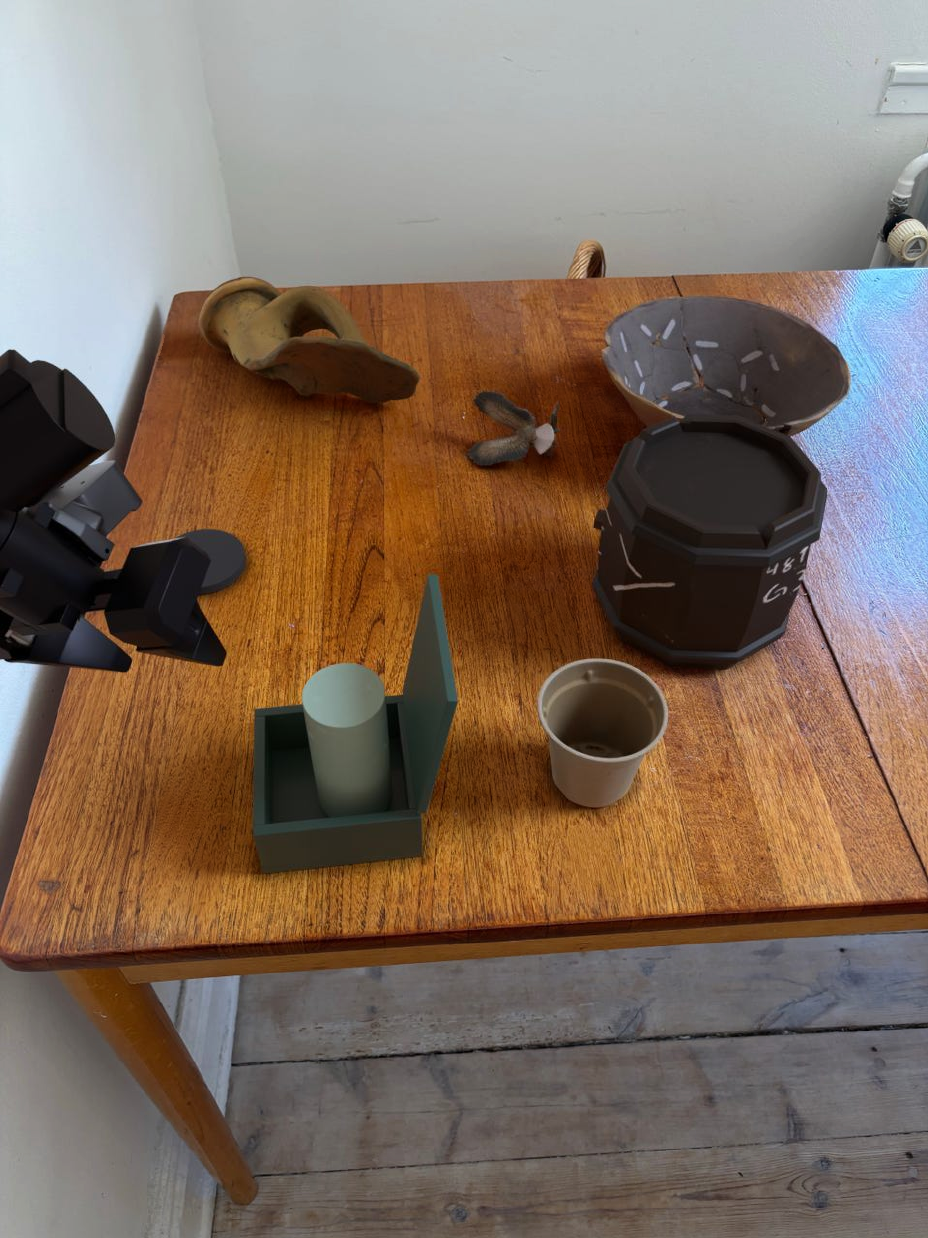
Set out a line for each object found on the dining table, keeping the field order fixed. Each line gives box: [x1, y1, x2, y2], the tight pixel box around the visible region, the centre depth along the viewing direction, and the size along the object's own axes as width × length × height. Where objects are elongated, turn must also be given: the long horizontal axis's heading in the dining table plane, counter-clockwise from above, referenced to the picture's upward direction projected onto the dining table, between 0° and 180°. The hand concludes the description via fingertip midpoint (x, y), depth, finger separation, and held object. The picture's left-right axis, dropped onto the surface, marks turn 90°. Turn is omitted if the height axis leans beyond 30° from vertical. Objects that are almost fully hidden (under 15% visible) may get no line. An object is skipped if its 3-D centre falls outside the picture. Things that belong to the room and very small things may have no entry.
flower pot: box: [536, 658, 669, 808], centre depth 76 cm, size 9×9×9 cm
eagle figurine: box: [467, 390, 562, 467], centre depth 105 cm, size 8×7×9 cm
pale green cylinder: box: [301, 662, 392, 818], centre depth 72 cm, size 6×6×12 cm
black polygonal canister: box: [591, 414, 828, 671], centre depth 86 cm, size 18×18×16 cm
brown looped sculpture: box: [198, 276, 421, 404], centre depth 110 cm, size 18×13×22 cm
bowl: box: [601, 295, 852, 438], centre depth 106 cm, size 25×25×10 cm
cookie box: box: [252, 694, 424, 875], centre depth 75 cm, size 12×11×5 cm
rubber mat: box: [173, 528, 247, 596], centre depth 94 cm, size 8×8×1 cm
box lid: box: [401, 573, 459, 815], centre depth 69 cm, size 12×11×1 cm
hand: (174, 663), depth 68 cm, fingers open, 9 cm apart
